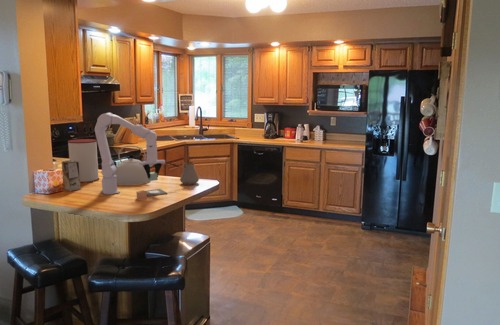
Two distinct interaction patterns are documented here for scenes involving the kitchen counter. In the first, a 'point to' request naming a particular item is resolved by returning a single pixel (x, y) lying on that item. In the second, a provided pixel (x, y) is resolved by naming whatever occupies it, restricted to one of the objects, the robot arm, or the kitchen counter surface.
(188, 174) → the coffee pot
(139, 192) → the top block
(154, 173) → the base block
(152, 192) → the grey flat square plate
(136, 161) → the kettle
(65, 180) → the coffee box
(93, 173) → the container
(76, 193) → the kitchen counter surface
